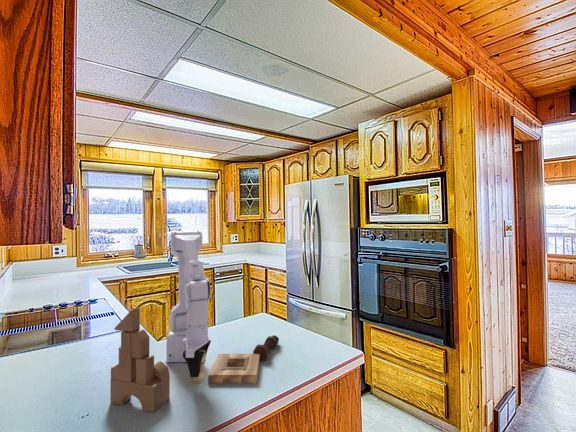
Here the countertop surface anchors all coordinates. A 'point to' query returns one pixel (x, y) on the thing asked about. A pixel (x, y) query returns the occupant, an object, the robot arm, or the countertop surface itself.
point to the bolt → (266, 347)
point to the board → (234, 368)
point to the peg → (201, 375)
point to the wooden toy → (138, 368)
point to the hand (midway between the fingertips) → (197, 371)
